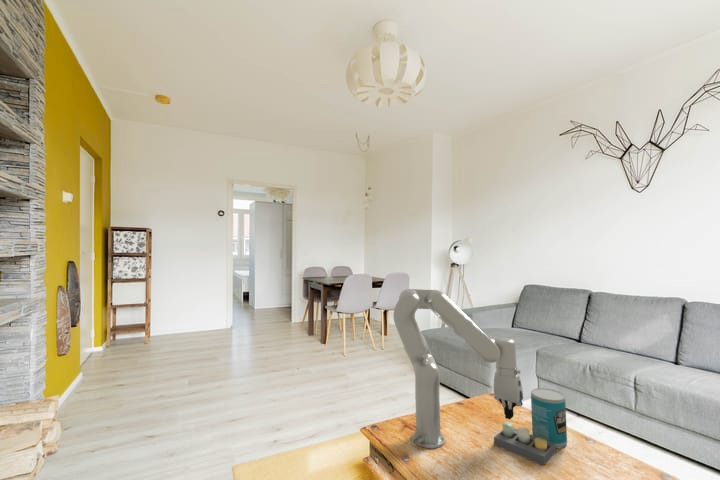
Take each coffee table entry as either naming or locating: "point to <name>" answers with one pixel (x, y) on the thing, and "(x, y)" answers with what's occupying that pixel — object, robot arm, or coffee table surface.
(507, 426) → the pale green egg
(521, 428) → the key ivory
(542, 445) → the key mustard
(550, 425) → the food can
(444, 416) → the coffee table surface
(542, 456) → the gray compartment tray
